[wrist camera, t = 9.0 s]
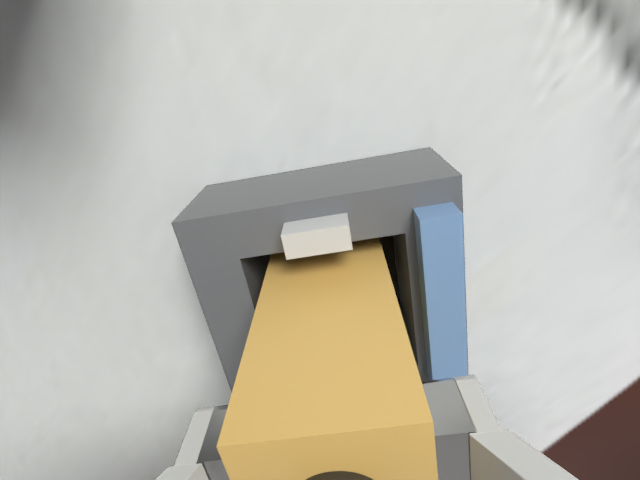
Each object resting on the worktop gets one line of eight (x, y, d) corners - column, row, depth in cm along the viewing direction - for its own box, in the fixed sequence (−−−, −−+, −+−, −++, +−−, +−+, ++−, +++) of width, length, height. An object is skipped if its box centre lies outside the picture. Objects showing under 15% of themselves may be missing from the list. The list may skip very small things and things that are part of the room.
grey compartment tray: (288, 456, 23) (279, 555, 18) (206, 186, 16) (159, 235, 12) (448, 439, 22) (480, 538, 17) (430, 147, 15) (473, 184, 11)
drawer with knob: (294, 326, 17) (257, 638, 8) (274, 243, 16) (196, 513, 6) (387, 313, 17) (461, 623, 8) (375, 227, 15) (452, 487, 6)
